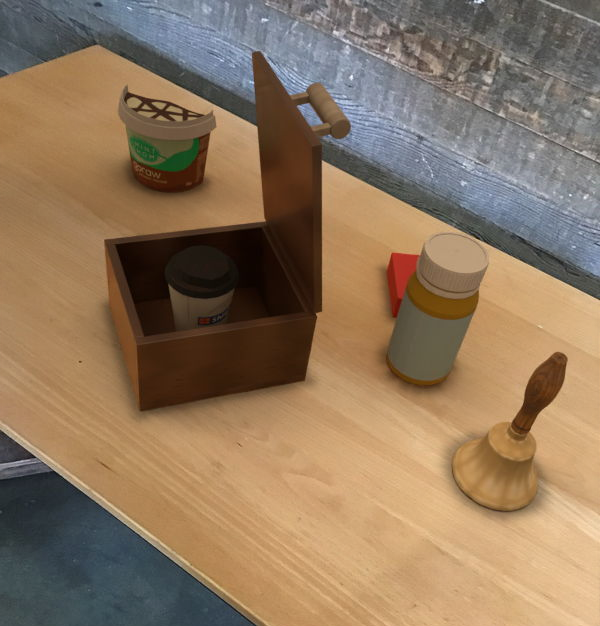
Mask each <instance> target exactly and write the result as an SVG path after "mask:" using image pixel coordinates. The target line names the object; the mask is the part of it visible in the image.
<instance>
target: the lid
mask: <svg viewBox="0 0 600 626" xmlns="http://www.w3.org/2000/svg"><path fill="white" fill-rule="evenodd" d="M251 61H252V63H251V64H252V73H253V74H252V75H253V89H254V100H255V102H254V103H255V115H256V126H257V127H256V128H257V140H258V142H257V143H258V153H259V166H260V169H259V170H260V182H261V193H262V195H261V196H262V207H263V218H264V220H265V221H266V222H267V224H268V226H269V228H270V230H271V232H272V234H273V236H274V238H275V239H276V241H277V243H278V245H279V247H280V249H281V251H282V253H283V255H284V257H285V259H286V260H287V262H288V264H289V266H290V268H291V270H292V272H293V274H294V276H295V278H296V280H297V281H298V283H299V285H300V287H301V289H302V291H303V293H304V295H305V297H306V299H307V301H308V302H309V304H310V306H311V308H312V310H313V312H314V314H315V313H316V314H319V313H322V312H323V144H322V142H321V141H320V139H319V138H321V137H325V136H326V137H327V136H331V137H332V138H333V139H335V140H342V139H344V138H346V137H347V136H349V134H350V132H351V130H352V129H351V128H352V125H351V122H350V120H349V119H348V117H347V116H346V115H345V113H344V112H343V110H342V109H341V108H340V106H339V105H338V103H337V102H336V100H335V99H334V98H333V97H332V95H331V93H329V91H328V90H327V88H326V87H325V85H324V84H322V83H320V82H314V83H311V84H310V85H309V86H307V88H306V90H305V91H303V92H299V93H294V94H289V92H288V91H287V89H286V88H285V86H284V84H283V83H282V81H281V80H280V78H279V77H278V75H277V74H276V72H275V71H274V69H273V68H272V66H271V65H270V63H269V62H268V59H266V58H265V56H264V54H263V53H262V51H261V50H257V51H253V52H251ZM306 104H309V105H310V107H311V108H312V110H313V111H314V113H315V114H316V116H317V117H318V119H319V120H320V122H321V123H320V124H316V125H312V126H311V125H310V123H309V122H308V121H307V119H306V118H305V116H304V114H303V113H302V111H301V110H300V109H299V106H302V105H306Z"/></svg>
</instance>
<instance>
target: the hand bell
mask: <svg viewBox="0 0 600 626" xmlns="http://www.w3.org/2000/svg"><path fill="white" fill-rule="evenodd" d="M568 361H569V358H568V356H567V355H566V354H565V353H564V352H560V351H555V352H553V353H552V354H551V355H550V356H549V357H548V358H547V359H546V360H544V361H542V363H540V364H539V365H538V366H537V367H536V368H535V369H534V370H533V372H532V374H531V376H530V377H529V379H528V381H527V384H526V387H525V389H524V394H523V395H524V396H523V401H522V405H521V407H520V408H519V410H518V412H517V413H516V415H515V416H514V418H513V419H512V420H511V421H502V422H498V423H496V424H494V425H492V426H491V428H490V429H489V430H488V432H487V433H486V435H485V436H484V437H481V438H476V439H472V440H470V441H467V442H465V443H464V444H462V445H461V446H459V448H458V449H457V450H456V452H455V453H454V455H453V458H452V460H451V461H452V462H451V469H452V475H453V478H454V480H455V482H456V484H457V486H458V487H459V489H460V490H461V491H462V492H463V493H464V494H465V495H466V496H467V497H469V498H470V499H471V500H472V501H474V502H475V503H477V504H479V505H481V506H483V507H484V508H485V507H486V508H488V509H491V510H496V511H505V512H511V511H517V510H520V509H523V508H525V507H526V506H528V505H529V504H530V503H531V502H532V501H534V499H535V498H536V496H537V493H538V490H539V477H538V473H537V470H536V469H535V468H536V467H535V466H534V464H533V461H534V459H535V458H534V457H535V455H536V452H537V441H536V438H535V437H534V435H533V434H532V433H531V429H532V427H533V425H534V423H535V421H536V419H537V417H538V416H539V414H540V413H541V412H542V411H543V410H544V409H546V408H547V407H548V406H549V405H550V404H551V403H553V401H555V399H556V397H557V396H558V395H559V393H560V392H561V389H562V388H563V385H564V383H565V379H566V371H567V365H568Z"/></svg>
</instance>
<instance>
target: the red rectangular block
mask: <svg viewBox="0 0 600 626" xmlns="http://www.w3.org/2000/svg"><path fill="white" fill-rule="evenodd" d="M420 255H421V254H412V253H402V252H391V254H390V258H389V262H388V265H387V269H386V276H387V284H388V292H389V300H390V308H391V316H392V318H397V315H398V312H399V309H400V305H401V302H402V299H403V295H404V292H405V289H406V285H407V283H408V280H409V277H410V276H411V275H412V274H413V273H414V271H415V270H416V268H417V265H418V263H419V258H420Z"/></svg>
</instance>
